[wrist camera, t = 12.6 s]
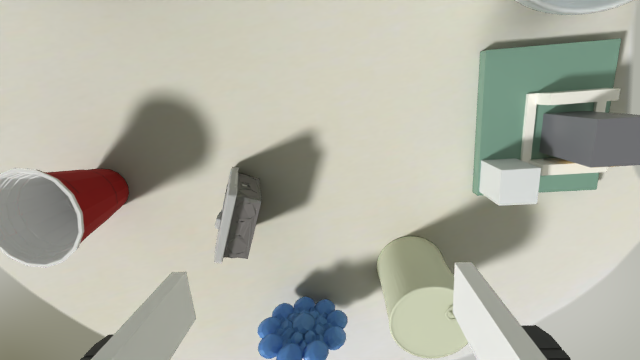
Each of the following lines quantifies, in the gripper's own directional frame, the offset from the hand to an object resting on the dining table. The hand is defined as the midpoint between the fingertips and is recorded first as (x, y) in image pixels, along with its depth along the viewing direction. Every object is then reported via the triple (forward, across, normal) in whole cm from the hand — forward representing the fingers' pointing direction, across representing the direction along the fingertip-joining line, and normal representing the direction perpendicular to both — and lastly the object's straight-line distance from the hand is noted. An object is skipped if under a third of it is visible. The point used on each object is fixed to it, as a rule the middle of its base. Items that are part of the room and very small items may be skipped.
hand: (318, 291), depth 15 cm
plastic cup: (+27, -31, -1) cm, 41 cm away
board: (+27, +25, +4) cm, 37 cm away
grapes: (+27, -5, -21) cm, 34 cm away
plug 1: (+25, +20, -2) cm, 32 cm away
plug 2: (+25, +27, +3) cm, 37 cm away
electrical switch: (+27, -12, -4) cm, 30 cm away
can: (+27, +10, -15) cm, 32 cm away
